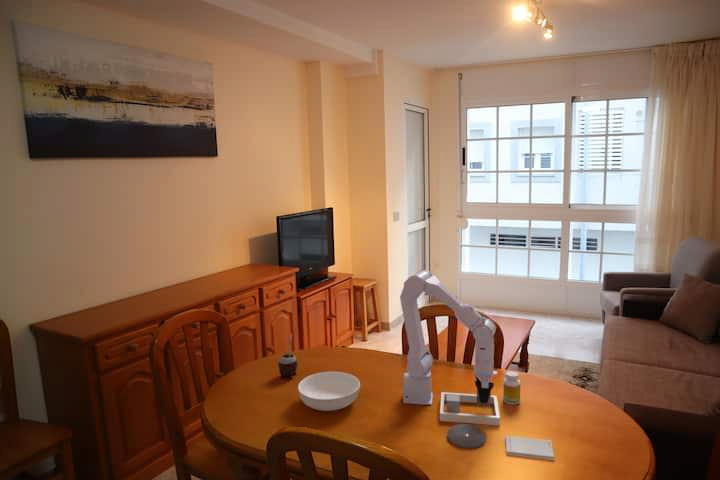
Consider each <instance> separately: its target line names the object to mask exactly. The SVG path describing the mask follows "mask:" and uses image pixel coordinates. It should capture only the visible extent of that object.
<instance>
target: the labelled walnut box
mask: <svg viewBox="0 0 720 480" xmlns="http://www.w3.org/2000/svg"><path fill="white" fill-rule="evenodd" d="M491 394H492V393H491V392H490V395H489V399H488V402H487V403H481V402H480V398H479V392H478V389H477V388H476V395H477V403H476V407H479V408H480V407H483V408H491V404H490V397H491V396H492V395H491Z"/></svg>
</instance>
